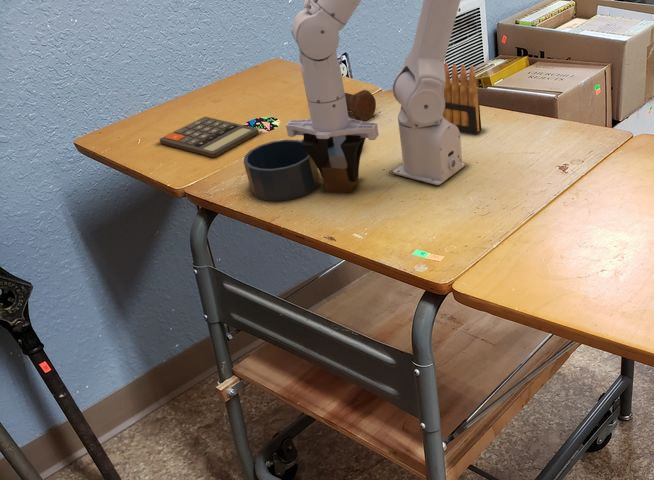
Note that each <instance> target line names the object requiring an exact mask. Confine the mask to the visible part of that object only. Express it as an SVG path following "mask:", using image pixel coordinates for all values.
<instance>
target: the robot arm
mask: <svg viewBox="0 0 654 480" xmlns="http://www.w3.org/2000/svg"><path fill="white" fill-rule="evenodd" d="M422 1H423V2H422V5H421V10H420V14H419V17H418V22H417V26H416V30H415V34H414V39H413V43H412V47H411V50H410V51H409V53H408V54H407V55H406V57H404V61H403V65H402V67H401V69H400V71H399V72H398V73H397V75H396V76H395V77H394V79H393V83H392V94H393V97H394V99H395V100H396V101H397V103H399V104H400V109H399V110H400V111H398V114H397V124H398V132H399V139H400V148H401V157H402V164H401V165H399V166H398V167H396V168H394V169H393V170H392V173H393V174H394V175H396V176H400V177H401V176H402V177H403V178H408V179H412V180H416V181H419V182H423V183H427V184H430V185H436V186H440V185H442V184H443V183H444V182H445V181H447V180H448V179H449V178H451V177H452V176H454V175H455V174H456V173H458V172H459V171H460V170H462V169H463V168H464V167H465V166H466V165H465V163H464V162H463V159H462V144H461V143H462V141H461V132H459V129H458V127H457V126H456V125H455V124H452V123H450V122H448V121H447V120H446V119H445V118H444V117H443V112H444V109H445V99H444V86H445V83H446V78H445V69H444V63H445V60H446V56H447V52H448V49H449V45H450V42H451V41H450V40H451V39H452V35H453V29H454V26H455V22H456V19H457V14H458V11H459V8H460V3H461V0H422ZM361 2H362V0H304V1H303V4H302V7H303V8H304V9H303V10H300V11H298V13H297V14H296V15H295V16H294V18H293V20H292V24H291V25H292V28H291V30H290V32H291V35H292V37H293V39H294V41H295V43H296V44H297V47H298V52H299V54H298V57H299V58H298V59H299V62H300V64H301V65H300V71H301V76H302V82H303V86H304V92H305V97H306V102H307V106H308V112H309V116H310V118H304V119H290V120H289V121H288V122H287V123H286V124H285V127H286V132H287V137H292V138H293V137H296V136H303V139H302V140H303V141H302V143H301V145H302V148H303V149H304V150H305V151H306V152H307V153H308V154H309V155H310V157H311V158H312V159H313V161H314V162H315V164H316V166H317V169H318V172H319V173H320V176H321V178H322V180H323V181H324V179H323V174H322V169H321V167H322V166H323V165H324V164H325V163H326V161H327V160H328V159H329V155H328V144H327V139H328V138H330V137H346V140H344V142H343V143H342V144H341V149H342V151H343V153H344V156H345V159H346V162H347V167H348V173H349V177H350V180H351V182H355V181H356V179H357V178H358V179H359V178H360V177H359V176H360V175H359V172H360V161H361V155H362V151H363V147H364V145H365V141H366V139H368V140H369V141H375V140H376V139H377V138H378V136H379V134H380V133H379V126H378V123H377V122H367V121H359V120H357V119H356V118H350V117H349V111H347V104H346V98H345V93H346V92H345V87H344V81H343V75H342V70H341V69H342V68H341V63H340V61H339V60H338V55H337V49H338V47H339V44H340V31H341V30H343V29H344V28H345V26H346V25H347V23H348V22H349V20H350V19H351V17H352V16H353V14H354V12H355V11H356V9H358V6H359V5H360V4H361Z"/></svg>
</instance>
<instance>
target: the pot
mask: <svg viewBox="0 0 654 480" xmlns="http://www.w3.org/2000/svg"><path fill="white" fill-rule="evenodd" d="M301 143H302V141H301V140H299V139H280V140H274V141H269V142H266V143H263V144H260V145H258V146H256V147H254V148H252V149H250V150H249V151H248V152H247V153H246V154H245V155H244V156H243V166H244V169H245V173H246V177H247V180H248V183H249V187H250V190H251V192H252V194H253V195H254V196H255V197H256V198H258V199H261V200H263V201H268V202H282V201H283V202H284V201H290V200H294V199H297V198H301V197H303V196H305V195H307V194H310V193H311V192H313V191H314V190H315V189H316V188H317V187H318V185H319V183H320V174H319V169H318V168H317V166H316V164H315V162H314V161H313V159H312V158H311V157H310V155H309V154H308V153H307V152H306V151H305V150H304V149H303V148H302V145H301Z"/></svg>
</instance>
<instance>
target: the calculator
mask: <svg viewBox="0 0 654 480" xmlns="http://www.w3.org/2000/svg"><path fill="white" fill-rule="evenodd" d="M259 133H260V132H259V129H258V128H256V127H253V126H247V125H244V124H239V123H235V122H230V121H227V120H222V119H217V118H213V117H210V116H209V117H208V116H203V117H201V118H198V119H197V120H194V121H193V122H191V123H189V124H187V125H185V126H183V127H181V128H179V129H177V130H174V131H173V132H171V133H169V134H167V135H164V136H163V137H160V138H159V142H160V144H162V145H166V146H169V147H173V148H177V149H180V150H184V151H188V152H192V153H195V154H199V155H202V156H207V157H210V158H216V157H218V156H220V155H223V154H224V153H226V152H227V151H229V150H232V149H233V148H235V147H237V146H239V145H240V144H242V143H244V142H247V140H249V139H251V138H253V137H254V136H256V135H258V134H259Z"/></svg>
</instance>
